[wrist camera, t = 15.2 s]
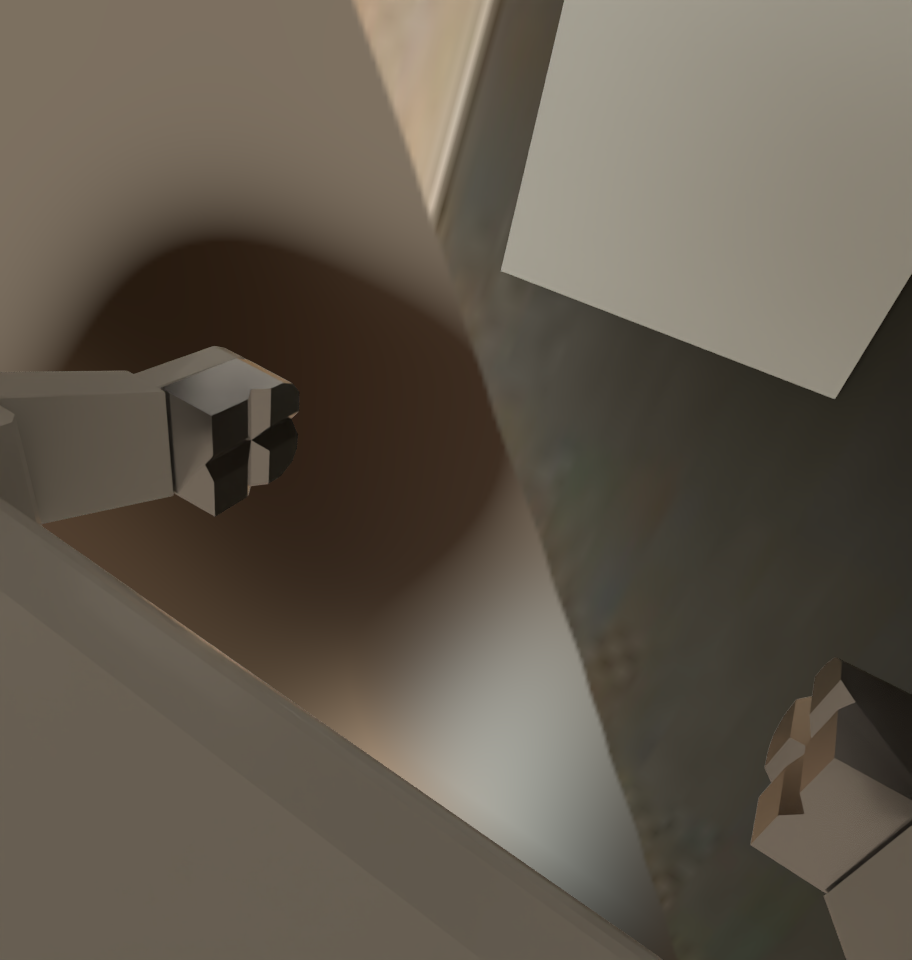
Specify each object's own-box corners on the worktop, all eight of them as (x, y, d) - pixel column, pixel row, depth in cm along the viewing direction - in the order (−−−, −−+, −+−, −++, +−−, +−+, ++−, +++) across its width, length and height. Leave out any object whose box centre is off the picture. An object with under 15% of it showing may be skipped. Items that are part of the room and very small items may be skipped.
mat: (613, -171, 29) (605, -177, 29) (1136, -100, 23) (1144, -107, 22) (508, 267, 41) (500, 270, 40) (835, 392, 35) (834, 399, 34)
